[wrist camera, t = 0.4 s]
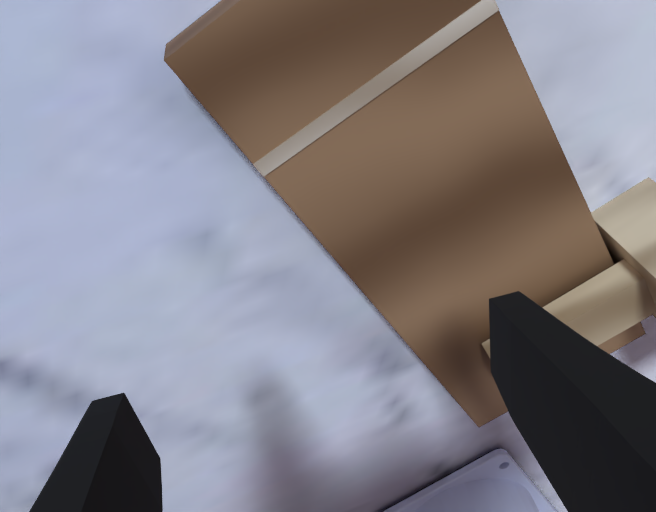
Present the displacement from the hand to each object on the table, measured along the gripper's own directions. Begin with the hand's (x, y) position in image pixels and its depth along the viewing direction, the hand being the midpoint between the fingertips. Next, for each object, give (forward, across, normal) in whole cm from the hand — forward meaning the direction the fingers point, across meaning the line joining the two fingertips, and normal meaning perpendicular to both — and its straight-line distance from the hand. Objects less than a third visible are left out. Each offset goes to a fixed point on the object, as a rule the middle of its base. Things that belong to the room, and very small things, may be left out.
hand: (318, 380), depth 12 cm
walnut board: (+10, -6, +3) cm, 12 cm away
